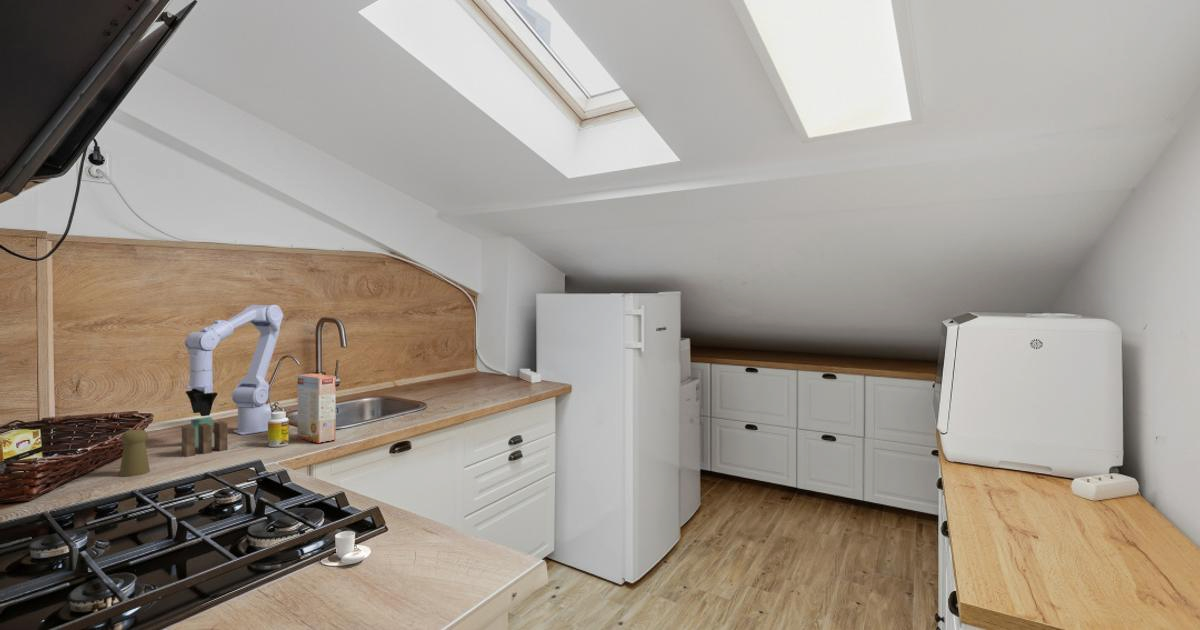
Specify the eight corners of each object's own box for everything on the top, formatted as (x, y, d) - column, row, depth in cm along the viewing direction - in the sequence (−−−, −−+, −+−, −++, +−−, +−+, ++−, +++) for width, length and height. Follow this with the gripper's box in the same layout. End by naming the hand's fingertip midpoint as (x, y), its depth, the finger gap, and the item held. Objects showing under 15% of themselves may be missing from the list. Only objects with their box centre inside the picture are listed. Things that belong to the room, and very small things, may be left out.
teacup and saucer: (367, 567, 92) (367, 543, 92) (314, 573, 89) (314, 548, 89) (373, 545, 100) (373, 523, 100) (324, 551, 98) (324, 528, 98)
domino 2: (206, 449, 165) (206, 423, 165) (211, 452, 162) (211, 425, 161) (198, 451, 163) (198, 424, 163) (203, 454, 160) (203, 426, 160)
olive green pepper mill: (155, 471, 143) (155, 428, 143) (129, 477, 138) (129, 433, 138) (140, 468, 145) (139, 427, 145) (113, 475, 140) (113, 431, 140)
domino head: (191, 445, 170) (190, 419, 170) (210, 442, 174) (210, 417, 173) (193, 446, 168) (192, 420, 168) (212, 443, 172) (212, 418, 172)
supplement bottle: (282, 447, 168) (282, 414, 167) (264, 447, 167) (263, 414, 167) (292, 443, 173) (292, 410, 173) (274, 443, 173) (274, 410, 173)
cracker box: (336, 440, 176) (336, 375, 176) (317, 444, 172) (317, 377, 171) (315, 434, 185) (315, 372, 184) (296, 438, 180) (296, 374, 180)
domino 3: (222, 447, 168) (221, 421, 168) (227, 450, 165) (227, 423, 165) (214, 448, 166) (214, 422, 166) (219, 451, 163) (219, 424, 163)
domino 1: (190, 452, 162) (190, 425, 162) (195, 455, 158) (195, 427, 158) (181, 453, 160) (181, 426, 160) (186, 456, 157) (186, 428, 157)
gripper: (178, 369, 172) (179, 413, 172) (192, 373, 163) (192, 419, 163) (205, 368, 178) (205, 410, 178) (220, 371, 168) (220, 415, 168)
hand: (201, 414), depth 171 cm, fingers open, 7 cm apart
